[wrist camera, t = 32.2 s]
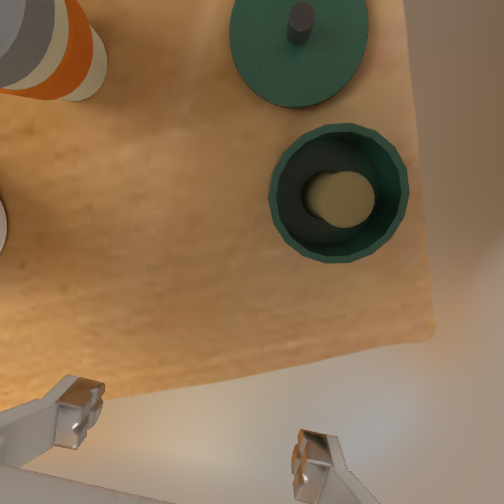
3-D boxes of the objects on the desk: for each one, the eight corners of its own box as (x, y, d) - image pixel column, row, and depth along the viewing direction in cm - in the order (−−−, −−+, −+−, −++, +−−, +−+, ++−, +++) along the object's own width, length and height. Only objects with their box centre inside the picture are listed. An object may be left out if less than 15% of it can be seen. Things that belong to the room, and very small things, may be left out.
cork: (337, 228, 40) (364, 245, 29) (293, 208, 39) (303, 218, 29) (360, 182, 38) (397, 183, 28) (314, 161, 38) (334, 153, 27)
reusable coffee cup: (60, 137, 39) (-63, 111, 24) (-6, 39, 37) (-183, -54, 22) (143, 80, 37) (65, 14, 23) (79, -27, 35) (-53, -175, 20)
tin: (281, 260, 41) (284, 275, 34) (257, 148, 38) (256, 141, 32) (390, 237, 40) (416, 248, 33) (374, 120, 37) (399, 106, 30)
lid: (246, 122, 38) (244, 114, 33) (216, -20, 35) (209, -51, 30) (374, 91, 37) (389, 78, 32) (354, -59, 34) (368, -98, 29)
